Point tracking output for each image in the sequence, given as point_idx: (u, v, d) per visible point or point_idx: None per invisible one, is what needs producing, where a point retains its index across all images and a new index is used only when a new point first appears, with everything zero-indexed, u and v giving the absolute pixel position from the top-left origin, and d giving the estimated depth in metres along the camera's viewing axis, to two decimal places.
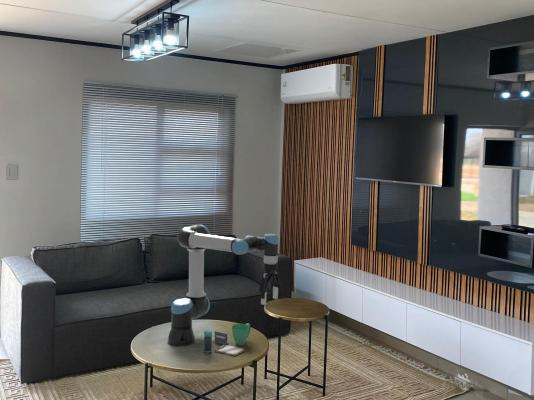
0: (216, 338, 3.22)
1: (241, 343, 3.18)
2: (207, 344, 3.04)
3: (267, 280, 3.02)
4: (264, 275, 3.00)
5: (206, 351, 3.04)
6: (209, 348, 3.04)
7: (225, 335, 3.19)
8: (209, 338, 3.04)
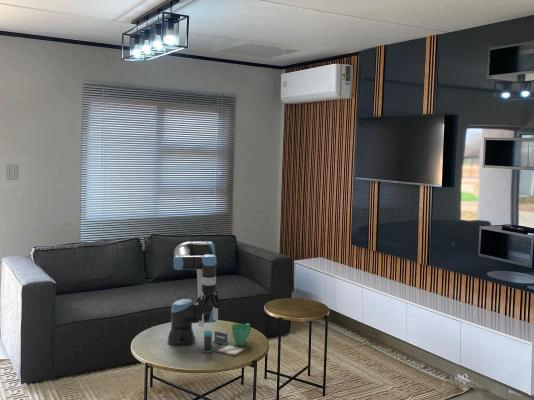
0: (216, 338, 3.22)
1: (241, 343, 3.18)
2: (207, 344, 3.04)
3: (205, 302, 2.99)
4: (201, 296, 2.97)
5: (206, 351, 3.04)
6: (209, 348, 3.04)
7: (225, 335, 3.19)
8: (209, 338, 3.04)
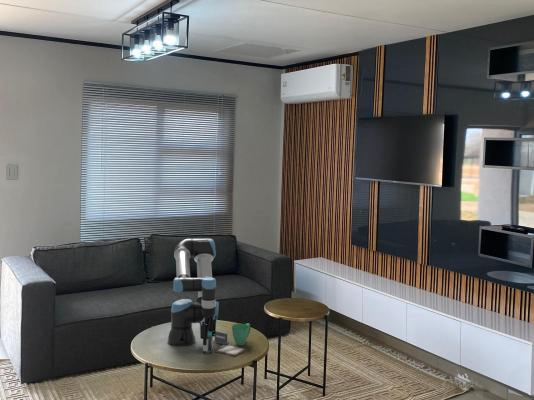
0: (216, 338, 3.22)
1: (241, 343, 3.18)
2: None
3: (206, 326, 3.02)
4: (201, 323, 2.99)
5: (206, 351, 3.04)
6: (209, 348, 3.04)
7: (225, 335, 3.19)
8: (209, 338, 3.03)
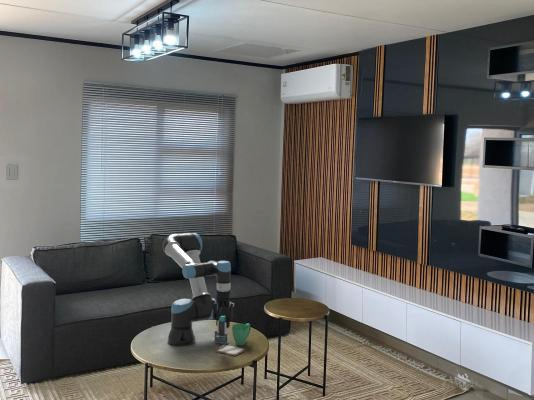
0: (216, 338, 3.22)
1: (241, 343, 3.18)
2: (219, 327, 3.06)
3: None
4: None
5: None
6: (219, 332, 3.05)
7: None
8: (219, 322, 3.05)
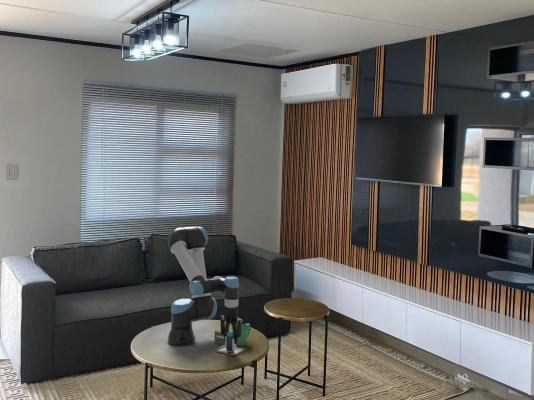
0: (216, 338, 3.22)
1: (241, 343, 3.18)
2: None
3: (226, 323, 3.04)
4: None
5: None
6: (227, 347, 3.04)
7: None
8: (227, 337, 3.03)
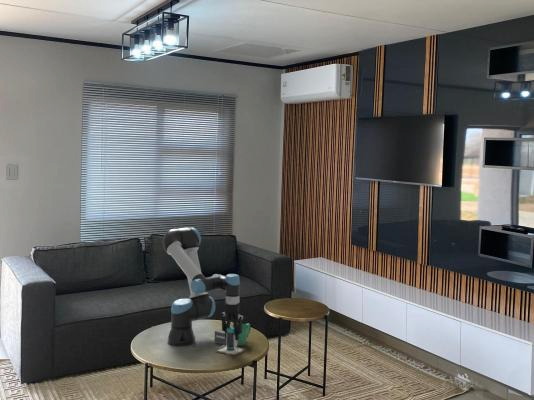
0: (216, 338, 3.22)
1: (241, 343, 3.18)
2: None
3: None
4: None
5: None
6: (227, 344, 3.08)
7: None
8: (227, 334, 3.08)
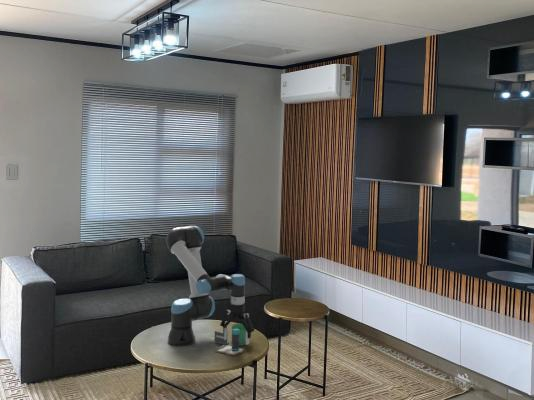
0: (216, 338, 3.22)
1: (241, 343, 3.18)
2: None
3: (230, 318, 3.09)
4: None
5: None
6: (232, 345, 3.07)
7: None
8: (232, 335, 3.07)
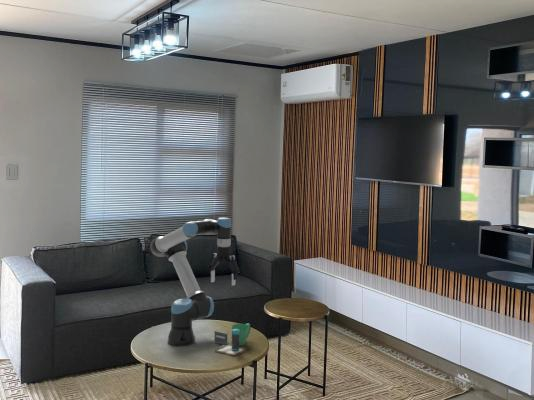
0: (216, 338, 3.22)
1: (241, 343, 3.18)
2: None
3: None
4: None
5: None
6: (232, 345, 3.07)
7: (225, 335, 3.19)
8: (232, 335, 3.07)
